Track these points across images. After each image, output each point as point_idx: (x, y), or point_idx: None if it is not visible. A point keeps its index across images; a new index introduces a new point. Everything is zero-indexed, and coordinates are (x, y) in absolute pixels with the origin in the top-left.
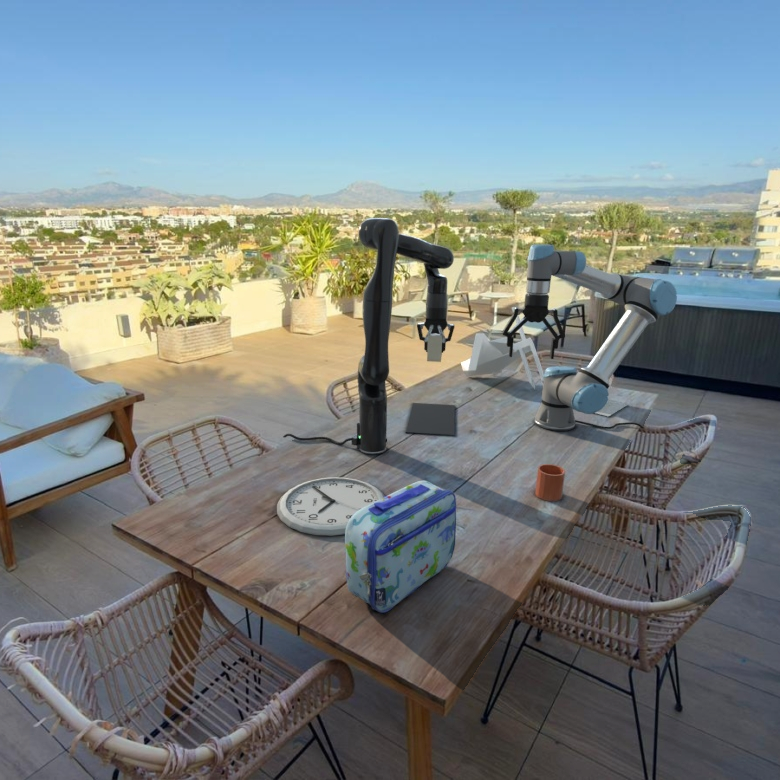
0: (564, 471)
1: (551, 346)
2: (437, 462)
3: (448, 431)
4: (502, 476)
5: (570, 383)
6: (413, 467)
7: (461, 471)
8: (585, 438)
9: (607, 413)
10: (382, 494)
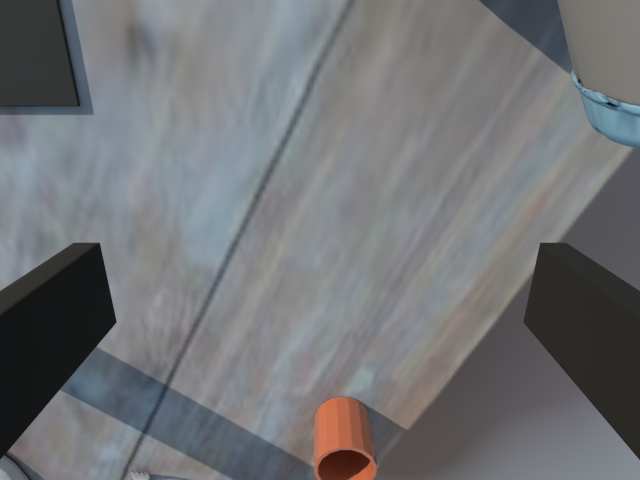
0: (374, 474)
1: (623, 351)
2: None
3: (47, 71)
4: (247, 357)
5: None
6: None
7: (147, 347)
8: None
9: None
10: (9, 474)
